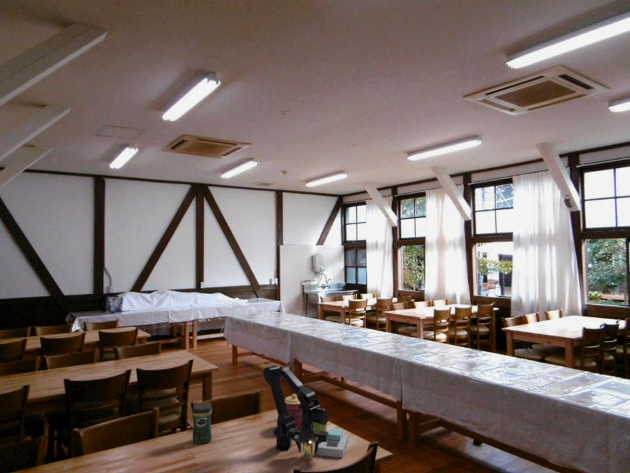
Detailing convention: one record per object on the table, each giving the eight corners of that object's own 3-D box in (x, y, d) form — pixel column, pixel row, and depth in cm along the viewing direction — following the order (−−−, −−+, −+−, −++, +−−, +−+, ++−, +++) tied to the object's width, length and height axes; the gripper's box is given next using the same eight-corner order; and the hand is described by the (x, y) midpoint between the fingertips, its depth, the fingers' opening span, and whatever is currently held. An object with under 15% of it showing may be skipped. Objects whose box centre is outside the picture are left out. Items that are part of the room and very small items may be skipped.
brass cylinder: (301, 458, 199) (302, 443, 199) (304, 454, 203) (304, 439, 203) (311, 459, 198) (311, 444, 198) (313, 455, 202) (313, 440, 202)
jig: (317, 454, 203) (317, 447, 203) (325, 439, 219) (325, 432, 219) (342, 457, 200) (342, 450, 200) (348, 442, 216) (348, 434, 216)
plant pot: (313, 439, 219) (313, 422, 219) (308, 432, 228) (308, 415, 229) (330, 437, 222) (330, 420, 222) (325, 430, 231) (325, 413, 231)
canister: (279, 423, 240) (279, 391, 240) (301, 421, 243) (302, 389, 244) (284, 433, 227) (285, 399, 228) (308, 430, 231) (308, 396, 232)
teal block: (327, 439, 211) (327, 434, 211) (330, 433, 218) (330, 428, 218) (340, 440, 209) (340, 435, 209) (342, 434, 216) (342, 429, 216)
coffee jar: (212, 437, 222) (212, 400, 223) (211, 443, 214) (211, 406, 215) (193, 438, 220) (193, 401, 221) (190, 445, 213) (191, 407, 213)
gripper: (283, 424, 196) (283, 459, 195) (323, 428, 191) (323, 464, 191) (290, 415, 206) (290, 448, 206) (328, 418, 202) (328, 452, 202)
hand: (307, 453), depth 201 cm, fingers open, 7 cm apart
